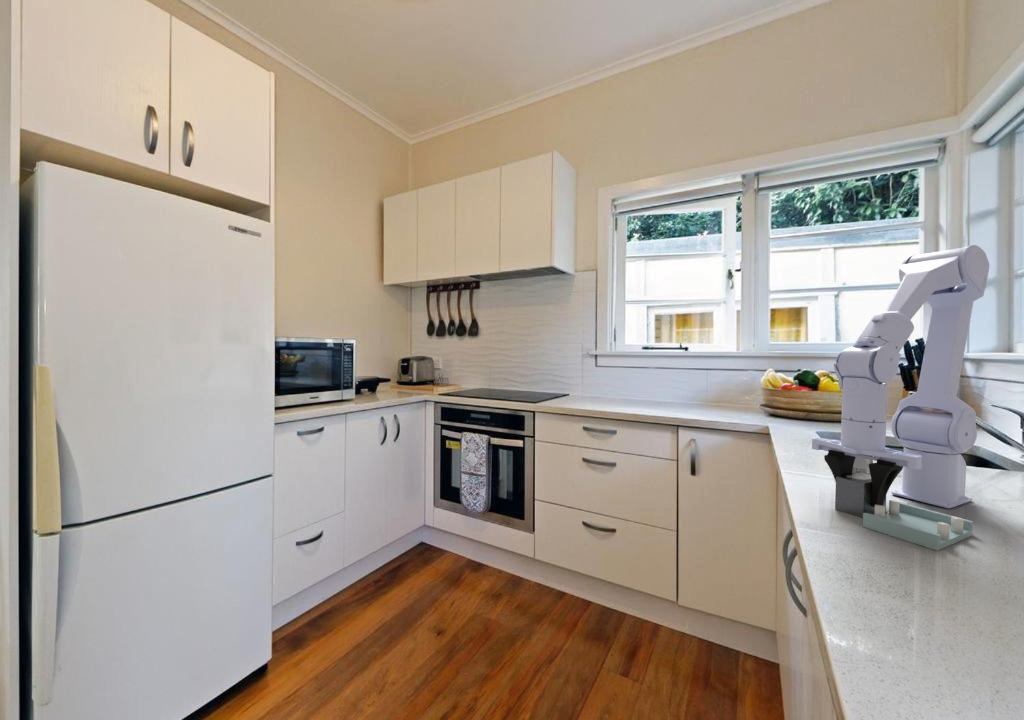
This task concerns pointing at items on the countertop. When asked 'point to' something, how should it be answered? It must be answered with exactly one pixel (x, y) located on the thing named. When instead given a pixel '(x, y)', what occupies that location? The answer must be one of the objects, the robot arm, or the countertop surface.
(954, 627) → the countertop surface
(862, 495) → the dark grey block
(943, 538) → the tray
